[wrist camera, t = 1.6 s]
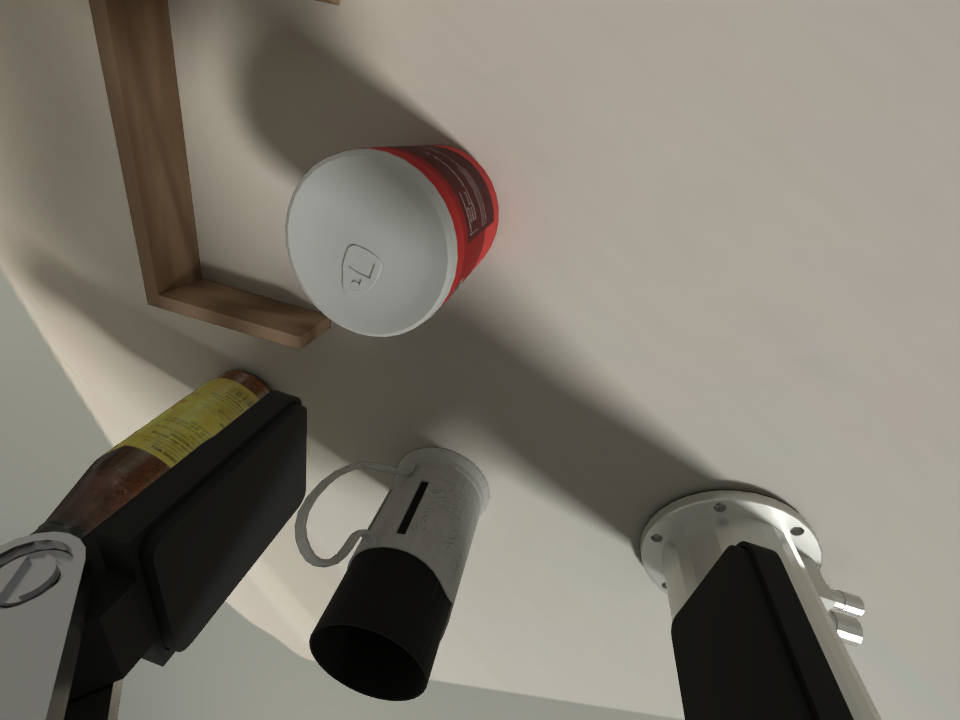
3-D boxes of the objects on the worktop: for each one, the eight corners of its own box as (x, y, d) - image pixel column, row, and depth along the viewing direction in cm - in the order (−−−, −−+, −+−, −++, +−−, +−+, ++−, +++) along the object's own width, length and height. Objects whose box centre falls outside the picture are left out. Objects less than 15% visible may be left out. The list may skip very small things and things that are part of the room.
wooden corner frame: (340, -18, 23) (296, -45, 20) (329, 327, 34) (300, 349, 30) (144, -58, 25) (71, -90, 21) (192, 287, 35) (148, 304, 31)
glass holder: (424, 529, 42) (349, 707, 29) (346, 411, 37) (215, 558, 24) (505, 514, 38) (463, 707, 25) (431, 382, 34) (332, 535, 21)
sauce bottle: (211, 361, 38) (-102, 548, 21) (275, 372, 37) (1, 579, 20) (227, 422, 41) (-34, 629, 24) (287, 434, 40) (58, 659, 23)
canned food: (381, 259, 30) (286, 315, 21) (391, 131, 26) (278, 128, 17) (487, 286, 29) (439, 358, 20) (513, 159, 25) (468, 172, 16)
